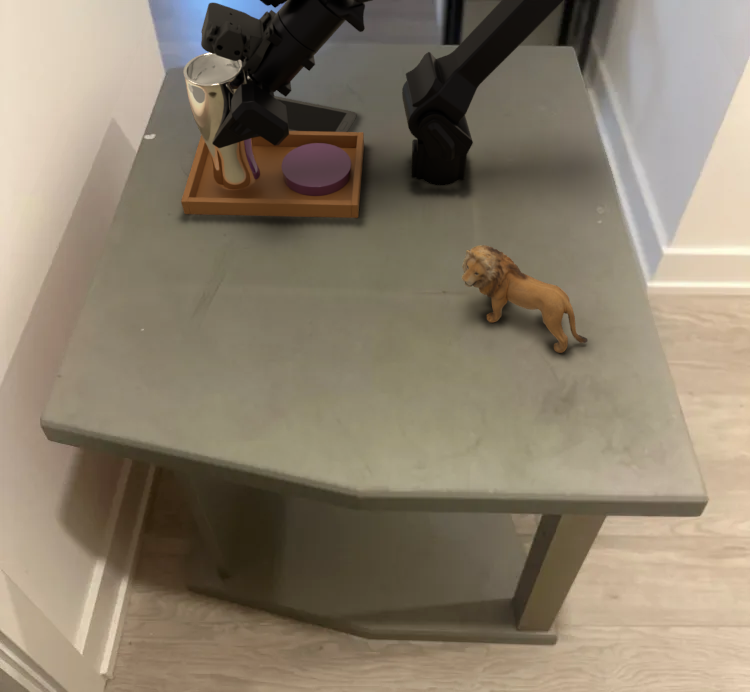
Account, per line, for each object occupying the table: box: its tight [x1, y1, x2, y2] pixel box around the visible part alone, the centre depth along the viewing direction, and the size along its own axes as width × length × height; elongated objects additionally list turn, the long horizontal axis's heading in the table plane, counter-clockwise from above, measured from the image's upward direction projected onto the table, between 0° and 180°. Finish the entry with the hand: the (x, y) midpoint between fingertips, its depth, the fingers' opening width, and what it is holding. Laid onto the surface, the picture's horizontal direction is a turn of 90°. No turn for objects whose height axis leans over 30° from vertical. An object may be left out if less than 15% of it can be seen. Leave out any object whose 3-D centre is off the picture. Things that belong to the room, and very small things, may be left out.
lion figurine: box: [461, 244, 588, 354], centre depth 78 cm, size 15×5×9 cm, turn 66°
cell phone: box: [274, 95, 358, 132], centre depth 104 cm, size 7×14×1 cm, turn 71°
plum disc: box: [281, 143, 352, 196], centre depth 96 cm, size 9×9×2 cm
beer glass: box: [183, 52, 261, 190], centre depth 88 cm, size 7×7×15 cm
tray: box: [180, 131, 365, 219], centre depth 95 cm, size 22×15×3 cm
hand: (215, 127), depth 88 cm, fingers closed on beer glass, 7 cm apart
